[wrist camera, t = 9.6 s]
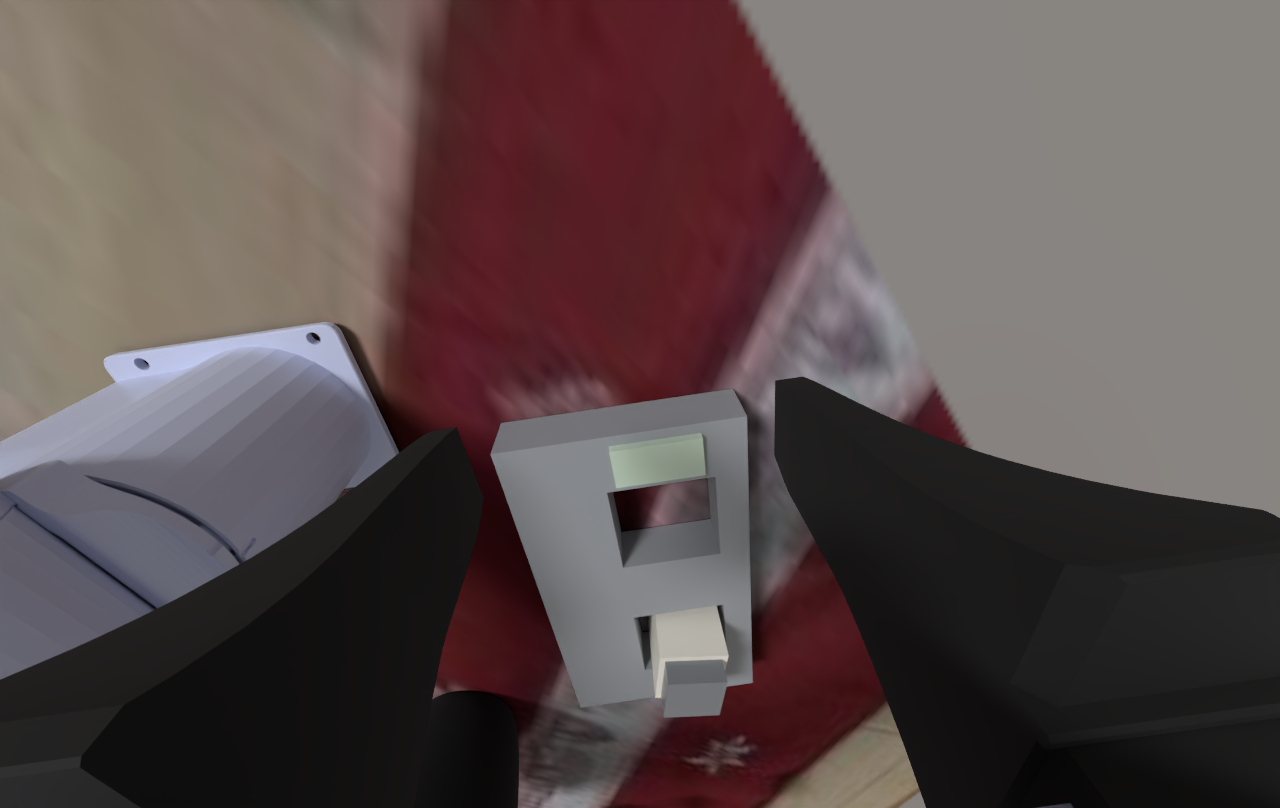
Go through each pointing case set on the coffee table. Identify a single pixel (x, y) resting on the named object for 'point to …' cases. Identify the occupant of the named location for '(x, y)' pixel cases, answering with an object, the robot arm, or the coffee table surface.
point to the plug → (688, 661)
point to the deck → (633, 560)
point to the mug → (469, 754)
